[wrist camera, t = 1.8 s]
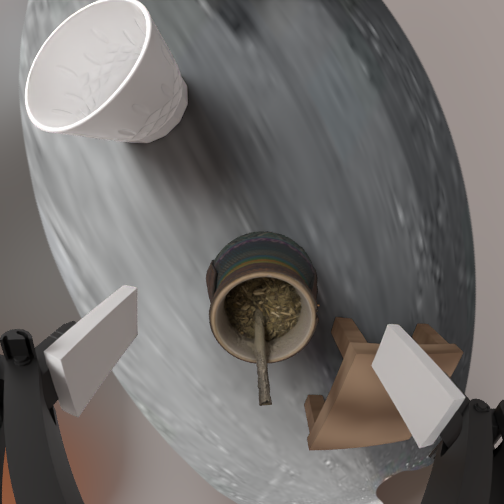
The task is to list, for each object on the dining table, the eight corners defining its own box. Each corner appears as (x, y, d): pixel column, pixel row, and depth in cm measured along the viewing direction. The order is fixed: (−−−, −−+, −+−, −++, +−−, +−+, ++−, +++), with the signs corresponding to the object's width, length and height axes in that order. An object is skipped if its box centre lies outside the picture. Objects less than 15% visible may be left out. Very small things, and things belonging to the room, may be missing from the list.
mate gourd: (300, 215, 20) (342, 246, 10) (313, 307, 22) (350, 389, 12) (204, 234, 20) (161, 282, 10) (227, 323, 22) (212, 412, 12)
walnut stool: (333, 313, 22) (356, 354, 16) (430, 321, 22) (463, 352, 16) (301, 406, 24) (309, 450, 18) (390, 404, 24) (408, 439, 19)
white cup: (216, 84, 17) (186, 12, 8) (158, 169, 19) (81, 159, 9) (142, 50, 16) (85, -9, 7) (91, 126, 18) (7, 105, 8)
